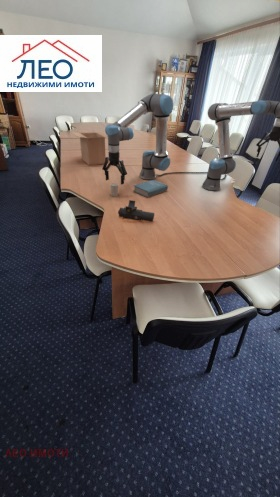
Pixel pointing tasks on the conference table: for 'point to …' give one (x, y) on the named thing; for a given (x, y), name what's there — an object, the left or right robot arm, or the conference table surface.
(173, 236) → the conference table surface
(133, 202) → the laser sight
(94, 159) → the box
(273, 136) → the right robot arm
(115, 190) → the can
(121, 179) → the left robot arm
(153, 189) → the book
